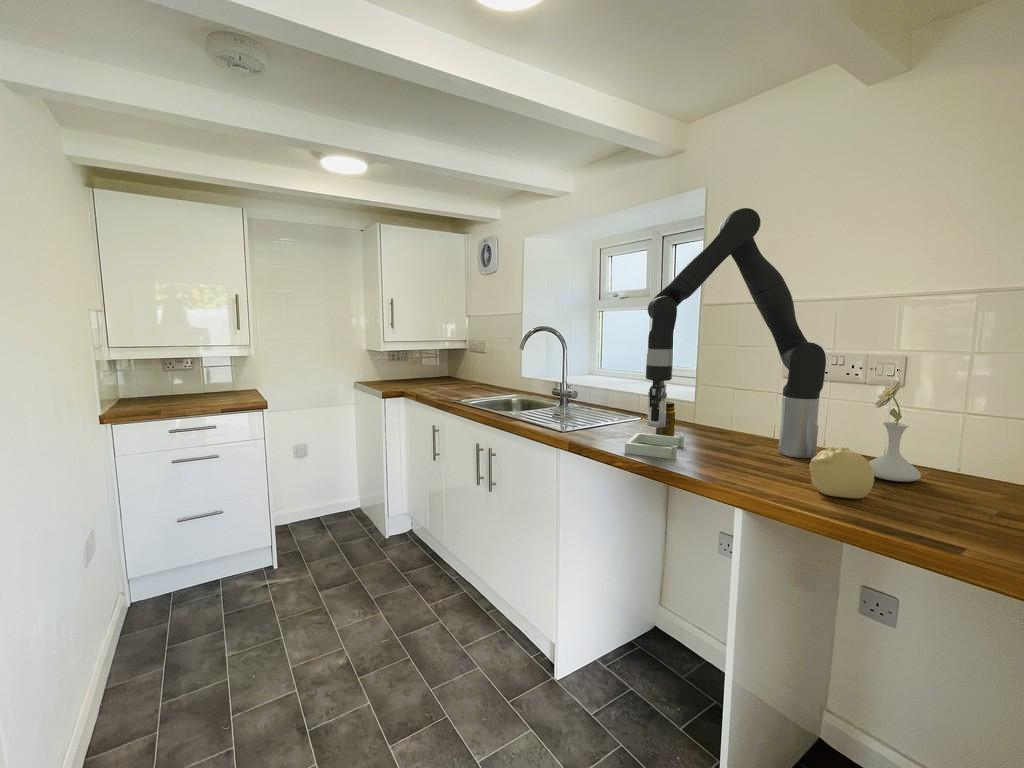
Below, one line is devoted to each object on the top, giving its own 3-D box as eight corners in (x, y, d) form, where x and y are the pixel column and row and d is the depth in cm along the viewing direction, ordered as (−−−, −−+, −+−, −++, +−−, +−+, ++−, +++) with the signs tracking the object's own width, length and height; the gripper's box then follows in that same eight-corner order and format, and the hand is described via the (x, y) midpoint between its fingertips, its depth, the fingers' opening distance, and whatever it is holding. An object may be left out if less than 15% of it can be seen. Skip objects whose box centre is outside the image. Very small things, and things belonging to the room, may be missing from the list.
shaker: (666, 424, 146) (668, 392, 145) (663, 428, 141) (665, 394, 140) (648, 423, 148) (650, 390, 147) (645, 426, 143) (646, 392, 142)
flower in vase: (868, 468, 126) (876, 375, 123) (924, 478, 118) (934, 379, 115) (855, 479, 118) (864, 379, 115) (915, 490, 109) (926, 383, 106)
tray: (683, 446, 149) (684, 435, 149) (675, 459, 135) (676, 446, 135) (636, 441, 156) (637, 431, 155) (624, 453, 142) (625, 441, 141)
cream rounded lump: (816, 482, 115) (820, 439, 114) (877, 495, 106) (882, 448, 105) (800, 493, 108) (803, 446, 106) (864, 508, 99) (869, 457, 97)
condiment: (679, 437, 163) (680, 402, 162) (667, 441, 157) (668, 405, 156) (659, 433, 168) (661, 400, 167) (647, 437, 162) (648, 402, 161)
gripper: (668, 366, 134) (665, 425, 136) (676, 363, 147) (673, 416, 149) (641, 365, 138) (639, 422, 140) (651, 362, 150) (648, 414, 152)
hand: (656, 419), depth 144 cm, fingers closed on shaker, 5 cm apart
